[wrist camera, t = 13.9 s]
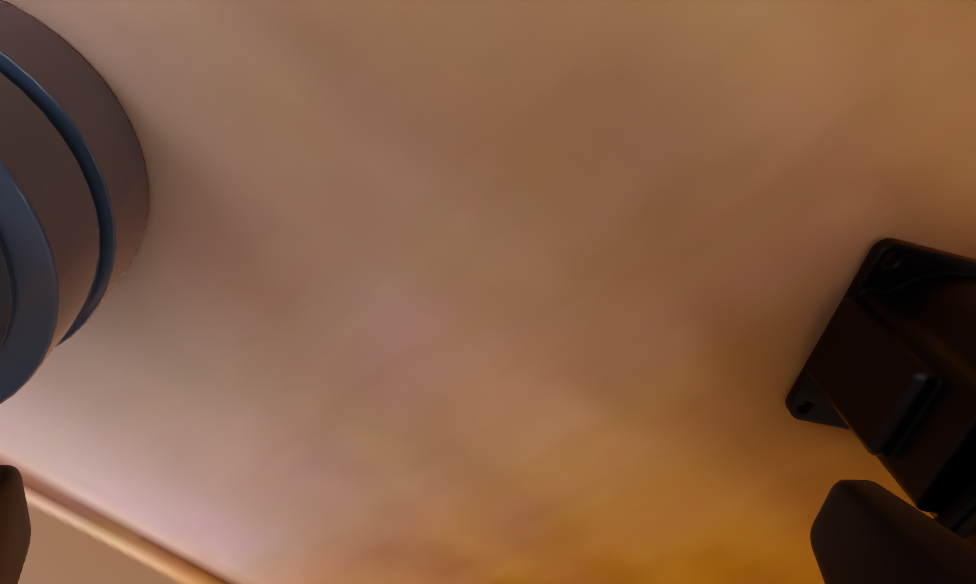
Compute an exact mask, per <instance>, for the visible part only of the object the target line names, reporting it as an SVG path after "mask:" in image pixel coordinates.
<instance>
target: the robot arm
mask: <svg viewBox="0 0 976 584" xmlns="http://www.w3.org/2000/svg"><path fill="white" fill-rule="evenodd" d="M891 252H893V254H892V256H891V257H890V258H889V259H888V260H886V261H884V258H885V256H886V255H887V254H889V253H891ZM805 401H807V402H806V403H805V404H804V405H802V406H799V405H800V404H801V403H802V402H805ZM785 404H786V407H787V409H788V410H789V412H790V413H791V415H792V416H793V417H794V418H796V419H799V420H804V421H810V422H815V423H820V424H825V425H830V426H835V427H841V428H846V429H851V430H852V431H853V433H854V434H855V435H856V437H857V438H858V439H859V440H860V442H861V443H862V444H863V445H864V447H865V448H866V449H867V451H868V452H869V453H871V454H872V455H876V457H877V458H878V459H879V460H880V462H881V463H882V464H883V465H884V467H885V468H886V469H887V470H888V472H889V473H890V474H891V475H892V477H893V478H894V479H895V480H896V482H897V483H898V484H899V486H900V487H901V488H902V489H903V491H904V492H905V493H906V494H907V496H908V497H909V498H910V499H911V501H912V502H913V503H914V504H915V506H916V507H917V508H918V509H919V510H922V511H926V512H930V514H931V515H932V516H933V517H934V519H932V518H930V517H929V516H927V515H926V514H924V513H922V512H921V511H919V510H918V509H916V508H915V507H913V506H911V505H910V504H908V503H907V502H905V501H904V500H902V499H900V498H899V497H897V496H896V495H894V494H893V493H891V492H890V491H888V490H886V489H885V488H883V487H882V486H880V485H879V484H877V483H875V482H872V481H868V480H841V481H838V482H837V483H836V484H834V485H833V487H832V488H831V490H830V492H829V494H828V496H827V498H826V500H825V502H824V503H823V505H822V507H821V509H820V511H819V513H818V515H817V517H816V519H815V521H814V523H813V525H812V527H811V533H810V539H811V545H812V549H813V552H814V555H815V557H816V560H817V563H818V566H819V568H820V571H821V574H822V577H823V579H824V582H825V584H976V260H975V259H972V258H968V257H964V256H960V255H956V254H952V253H948V252H944V251H940V250H936V249H932V248H928V247H924V246H920V245H917V244H913V243H909V242H905V241H901V240H897V239H891V238H886V239H883V240H880V241H879V242H877V243H876V244H875V245H874V246H873V247H872V248H871V250H870V251H869V253H868V255H867V256H866V258H865V260H864V262H863V264H862V265H861V267H860V269H859V271H858V272H857V274H856V276H855V278H854V279H853V281H852V283H851V285H850V286H849V288H848V290H847V292H846V294H845V295H844V297H843V299H842V301H841V302H840V304H839V306H838V308H837V309H836V311H835V313H834V315H833V316H832V318H831V320H830V322H829V323H828V325H827V327H826V329H825V330H824V332H823V334H822V336H821V338H820V339H819V341H818V343H817V345H816V346H815V348H814V350H813V352H812V353H811V355H810V357H809V359H808V360H807V362H806V364H805V366H804V368H803V369H802V371H801V373H800V375H799V377H798V378H797V380H796V382H795V384H794V385H793V387H792V389H791V391H790V392H789V394H788V396H787V398H786V401H785ZM30 536H31V524H30V518H29V513H28V508H27V502H26V497H25V492H24V486H23V481H22V477H21V474H20V472H19V470H18V469H17V468H16V467H13V466H10V465H0V584H18V581H19V577H20V574H21V571H22V568H23V564H24V562H25V558H26V555H27V552H28V548H29V544H30Z"/></svg>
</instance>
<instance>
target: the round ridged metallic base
mask: <svg viewBox="0 0 976 584" xmlns="http://www.w3.org/2000/svg"><path fill="white" fill-rule="evenodd" d="M147 215H148V182H147V175H146V168H145V164H144V160H143V157H142V153H141V150H140V146H139V143H138V141H137V138H136V136H135V134H134V131H133V129H132V127H131V124H130V122H129V120H128V118H127V116H126V115H125V113H124V111H123V109H122V108H121V106H120V104H119V103H118V101H117V99H116V98H115V96H114V95H113V93H112V92H111V91H110V89H109V88H108V87H107V85H106V84H105V83H104V81H103V80H102V78H101V77H100V76H99V75H98V74H97V73H96V71H95V70H94V69H93V68H92V67H91V66H90V65H89V64H88V63H87V62H86V61H85V59H84V58H83V57H82V56H81V55H80V54H79V53H78V52H76V51H75V50H74V49H73V48H72V47H71V46H70V45H69V44H67V43H66V42H65V41H64V40H63V39H62V38H61V37H60V36H58V35H57V34H56V33H54V32H53V31H51V30H50V29H49V28H47V27H46V26H44V25H43V24H42V23H40V22H39V21H38V20H36V19H35V18H33V17H31V16H30V15H28V14H26V13H24V12H23V11H21V10H19V9H17V8H16V7H14V6H12V5H11V4H9V3H7V2H5V1H2V0H0V404H1V403H3V402H4V401H6V400H7V399H9V398H10V397H11V396H13V395H14V394H15V393H16V392H17V391H18V390H19V389H21V388H22V387H23V386H24V385H25V384H26V383H27V382H28V381H29V380H30V379H31V377H32V376H33V375H34V374H35V372H36V371H37V370H38V369H39V367H40V366H41V365H42V363H43V362H44V361H45V360H46V358H47V357H48V356H49V355H50V353H51V352H52V351H53V350H54V348H55V347H57V346H58V345H60V344H61V343H63V342H64V341H66V340H67V339H68V338H70V337H71V336H72V335H73V334H74V333H75V332H77V331H78V330H79V329H80V328H81V327H82V326H83V325H84V324H85V323H86V322H87V320H88V319H89V318H90V317H91V315H92V314H93V313H94V311H95V310H96V309H97V307H98V306H99V305H100V303H101V302H102V301H103V300H104V298H105V297H106V296H107V294H108V293H109V292H110V290H111V289H112V288H113V287H114V285H115V284H116V283H117V281H118V280H119V279H120V277H121V276H122V275H123V273H124V272H125V271H126V269H127V268H128V267H129V265H130V264H131V262H132V260H133V258H134V257H135V255H136V253H137V251H138V249H139V247H140V244H141V241H142V238H143V235H144V231H145V228H146V221H147Z"/></svg>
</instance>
